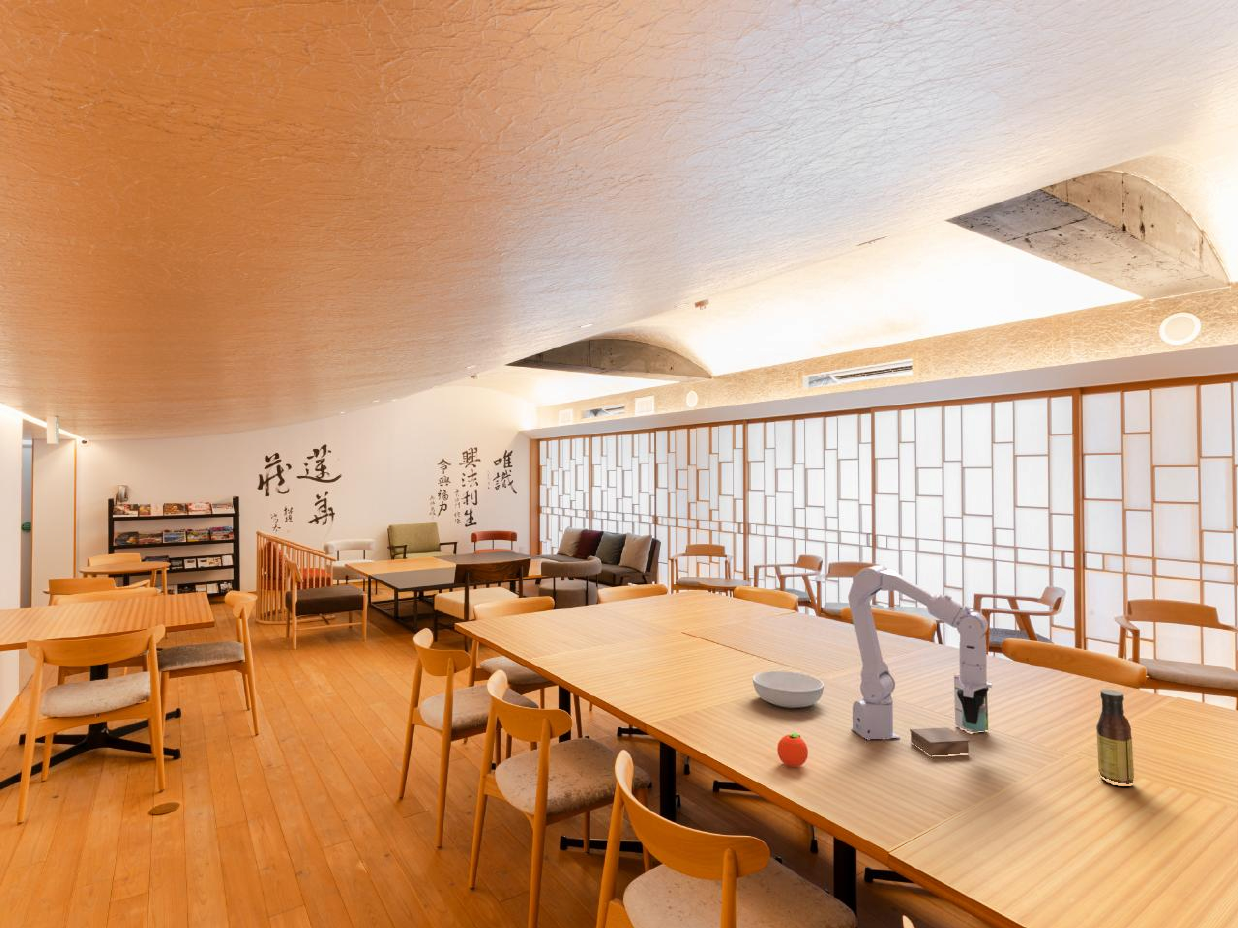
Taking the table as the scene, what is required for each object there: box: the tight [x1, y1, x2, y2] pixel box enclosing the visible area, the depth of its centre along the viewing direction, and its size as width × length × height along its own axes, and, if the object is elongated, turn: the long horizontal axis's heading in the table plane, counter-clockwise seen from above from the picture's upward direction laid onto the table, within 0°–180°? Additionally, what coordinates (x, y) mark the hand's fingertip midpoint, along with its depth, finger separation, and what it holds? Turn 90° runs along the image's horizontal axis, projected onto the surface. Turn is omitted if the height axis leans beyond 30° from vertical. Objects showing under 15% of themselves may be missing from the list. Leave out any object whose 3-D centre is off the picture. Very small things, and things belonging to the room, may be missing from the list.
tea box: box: [909, 727, 971, 756], centre depth 157 cm, size 10×8×4 cm
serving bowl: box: [752, 670, 825, 709], centre depth 191 cm, size 21×21×7 cm
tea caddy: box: [962, 704, 986, 730], centre depth 153 cm, size 5×5×5 cm
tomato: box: [776, 733, 809, 768], centre depth 148 cm, size 8×7×7 cm
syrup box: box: [953, 673, 989, 732], centre depth 171 cm, size 6×6×14 cm
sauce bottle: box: [1096, 689, 1135, 784], centre depth 141 cm, size 7×6×20 cm
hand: (973, 719), depth 153 cm, fingers closed on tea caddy, 5 cm apart
